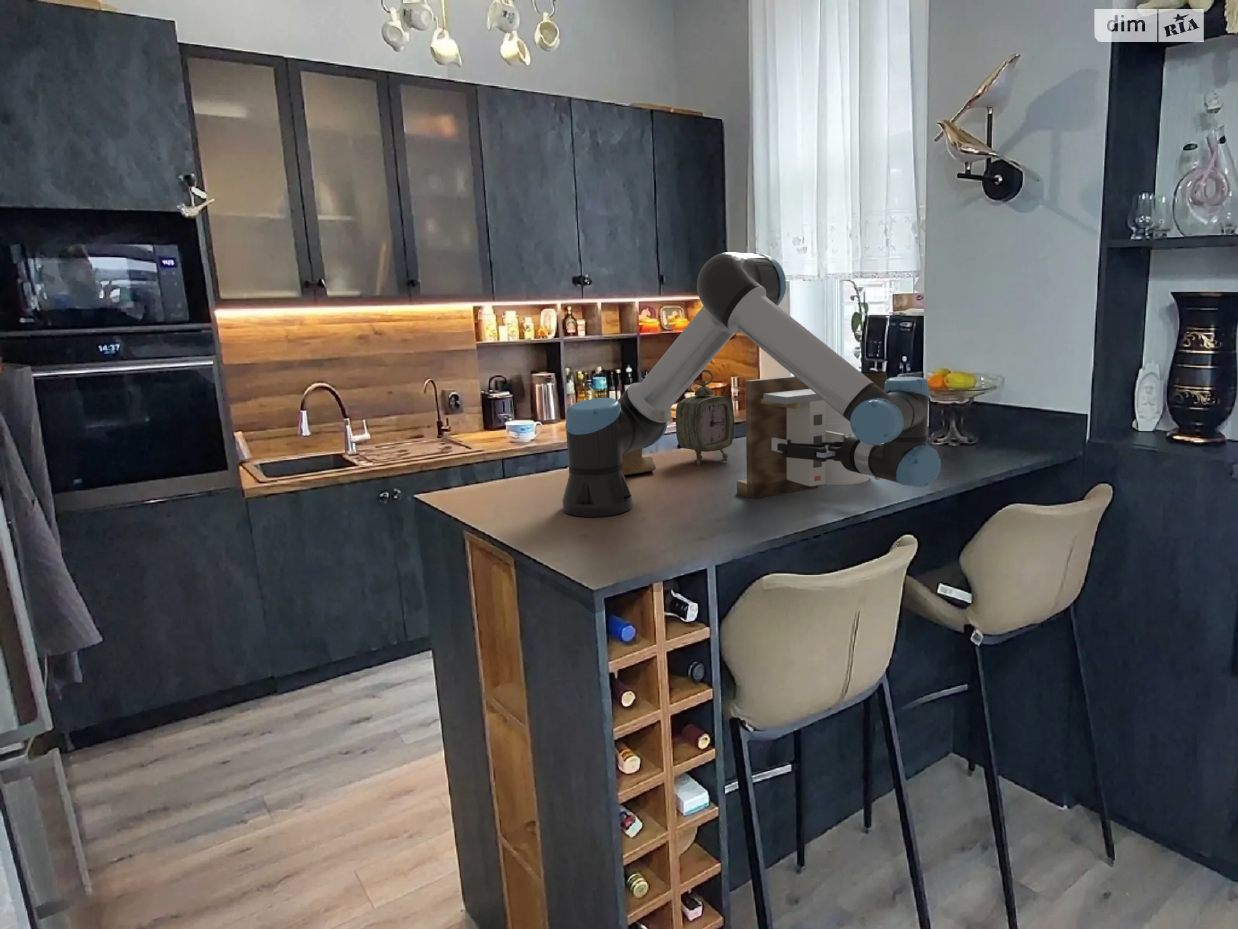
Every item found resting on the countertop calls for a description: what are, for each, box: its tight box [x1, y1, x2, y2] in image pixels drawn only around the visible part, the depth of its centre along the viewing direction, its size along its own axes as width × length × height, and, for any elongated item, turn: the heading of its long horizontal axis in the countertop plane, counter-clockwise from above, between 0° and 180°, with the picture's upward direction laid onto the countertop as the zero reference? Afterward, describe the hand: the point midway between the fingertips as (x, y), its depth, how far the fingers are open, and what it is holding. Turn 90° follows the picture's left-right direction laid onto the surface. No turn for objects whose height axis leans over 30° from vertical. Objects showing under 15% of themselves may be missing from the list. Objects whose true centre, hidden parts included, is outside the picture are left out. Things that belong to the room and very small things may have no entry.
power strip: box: [763, 389, 826, 486], centre depth 172 cm, size 16×8×20 cm, turn 115°
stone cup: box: [622, 449, 657, 476], centre depth 206 cm, size 15×12×15 cm
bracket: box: [736, 375, 819, 500], centre depth 176 cm, size 18×18×26 cm
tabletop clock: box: [675, 369, 735, 466], centre depth 217 cm, size 14×9×25 cm, turn 129°
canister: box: [822, 402, 871, 486], centre depth 192 cm, size 16×16×20 cm
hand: (798, 440), depth 174 cm, fingers open, 13 cm apart
